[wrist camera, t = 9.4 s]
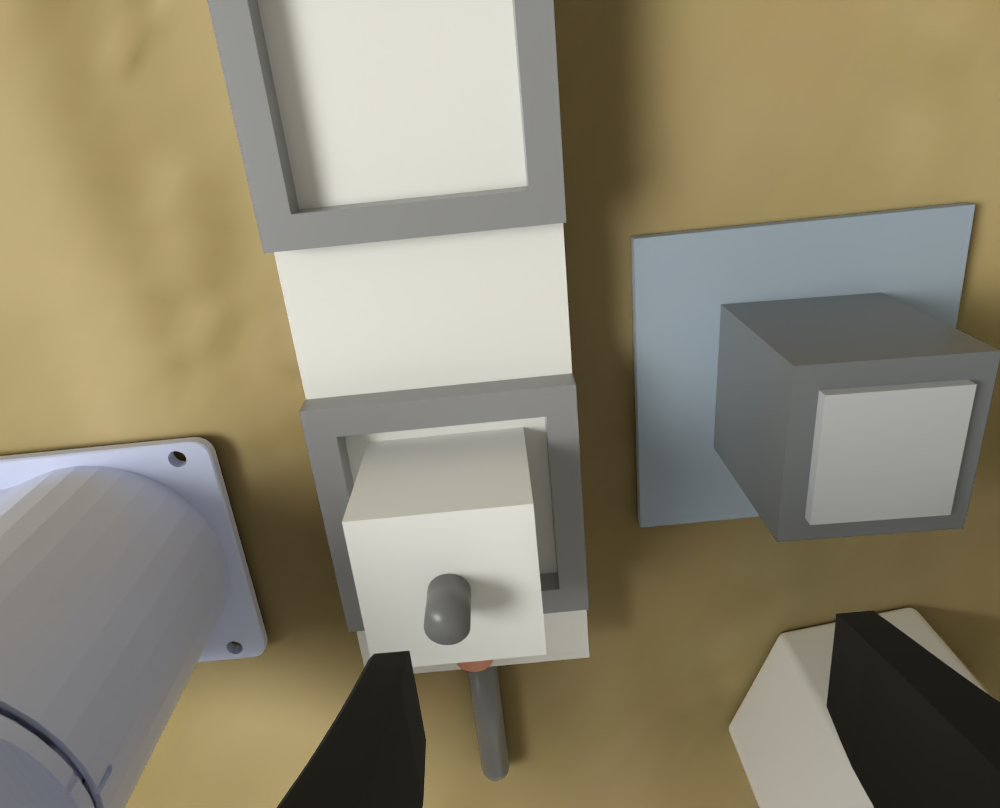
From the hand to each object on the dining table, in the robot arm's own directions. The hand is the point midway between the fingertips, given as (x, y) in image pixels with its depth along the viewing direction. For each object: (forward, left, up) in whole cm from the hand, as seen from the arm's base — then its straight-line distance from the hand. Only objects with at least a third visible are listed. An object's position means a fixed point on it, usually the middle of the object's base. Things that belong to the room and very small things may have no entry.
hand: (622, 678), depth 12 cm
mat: (+7, +1, -10) cm, 12 cm away
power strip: (-3, +1, -10) cm, 11 cm away
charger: (+7, +1, -10) cm, 12 cm away
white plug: (-3, -1, -8) cm, 9 cm away
